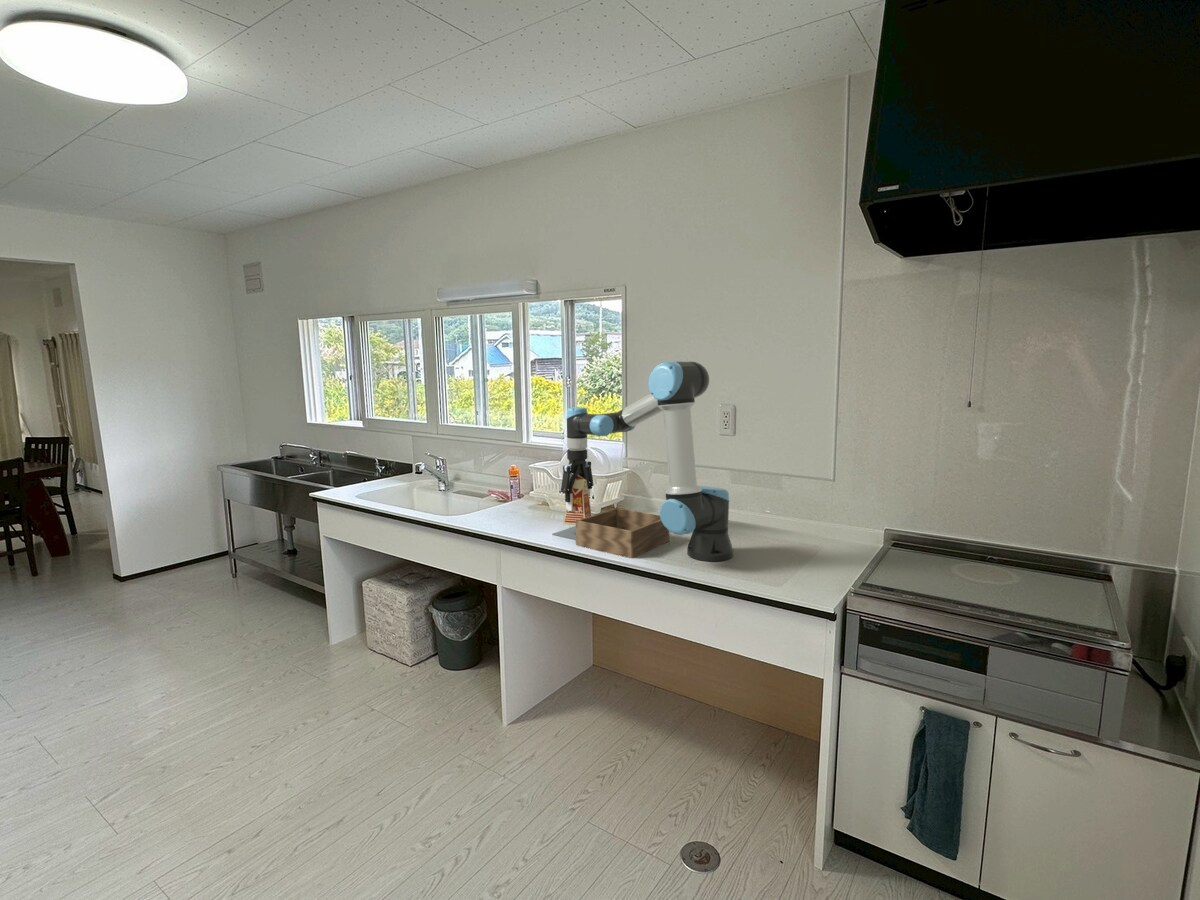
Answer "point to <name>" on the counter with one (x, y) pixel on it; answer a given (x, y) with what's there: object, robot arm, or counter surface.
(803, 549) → the counter surface
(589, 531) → the walnut surround
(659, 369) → the robot arm
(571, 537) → the slate mat
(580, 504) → the milk carton
